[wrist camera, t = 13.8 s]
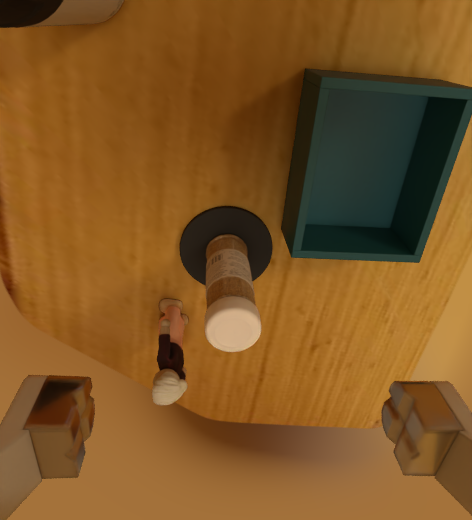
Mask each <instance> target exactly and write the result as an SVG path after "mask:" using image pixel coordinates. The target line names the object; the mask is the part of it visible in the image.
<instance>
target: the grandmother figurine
mask: <svg viewBox="0 0 472 520" xmlns="http://www.w3.org/2000/svg"><path fill="white" fill-rule="evenodd" d="M182 308H183V304H182V302H181V301H179V300H173V299H163V300H161V301H160V303H159V309H160V310H161V312H163V313H165V316H163V317H162V318H161V319H160V320H159V350H158V356H157V362H158V365H159V369H160V371H159V372H158V373H157V374H156V375H155V377H154V380H153V390H152V397H153V401H154V402H155V403H156V404H158V405H168V404H171V403H173V402H175V401H177V400H178V399H179V398H180V397H181V396H182V394H183V393H184V392H185V391H186V389H187V387H188V386H187V383H186V381H185V377H186V375H185V374H186V369H185V368H184V367H183V365H184V358H183V350H182V337H183V331H184V325H186V324H187V323H188V321H189V320H188V317H187V316H186V315H184V314H181V313H180V311H181V310H182Z"/></svg>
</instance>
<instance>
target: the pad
mask: <svg viewBox="0 0 472 520" xmlns="http://www.w3.org/2000/svg"><path fill="white" fill-rule="evenodd" d="M224 234H232V235H235V236H237V237H239V238H240V239H242V240H243V241H244V243H245V244H246V246H247V252H248V254H247V257H248V261H249V265H250V271H251V277H252V281H254V280H255V279H256V278H258V277H259V276H260V275H261V274H262V273H263V272H264V270H265V269H266V268H267V266H268V264H269V262H270V259H271V255H272V240H271V236H270V233H269V231H268V229H267V227H266V225H265V224H264V223H263V222H262V221H261V220H260V219H259V218H258V217H257V216H256V215H254V214H253V213H251V212H249V211H247V210H244V209H242V208H238V207H231V206H223V207H216V208H212V209H209V210H207V211H204V212H202V213H201V214H199V215H198V216H196V217H195V218H194V219H193V220H192V221H191V222H190V223H189V224H188V225H187V227H186V228H185V230H184V232H183V234H182V237H181V241H180V256H181V260H182V263H183V265H184V267H185V269H186V270H187V271H188V273H189V274H190V275H191V276H192V277H193V278H194V279H196V280H197V281H199V282H200V283H202V284H204V285H206V264H207V258H206V249H207V246H208V244H209V243H210V241H211V240H213V239H214V238H215V237H217V236H219V235H224Z"/></svg>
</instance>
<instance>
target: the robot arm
mask: <svg viewBox="0 0 472 520" xmlns="http://www.w3.org/2000/svg"><path fill="white" fill-rule="evenodd" d="M91 389H92V383H91V378H90V377H79V376H54V375H53V376H52V375H49V376H45V375H44V376H43V375H28V376H27V377H26V378H25V379H24V381H23V382H22V384H21V386H20V388H19V390H18V392H17V394H16V396H15V398H14V400H13V401H12V403H11V405H10V407H9V409H8V411H7V413H6V415H5V417H4V418H3V420H2V423H1V424H0V520H6V519H7V518H8V517H9V516H10V515H11V514H12V513H13V512H14V511H15V510H16V509H17V508H18V506H19V505H20V504H21V503H22V502H23V501H24V500H25V499H26V498H27V497H28V496H29V495H30V493H31V492H32V491H33V490H34V489H35V488H36V487H37V486H38V485H39V484H40V483H41V481H42V479H46V478H77V477H78V476H79V473H80V469H81V466H82V462H83V459H84V456H85V446H84V441H86V440H87V439H88V438H89V437H90V435H91V431H92V427H93V422H94V415H95V404H94V399H93V398H92V397H91V396H90V392H91ZM389 392H390V394H391V397H390V398H389V399H388V400H386V401H385V402H384V405H383V408H382V424H383V428H384V431H385V433H386V436H387V437H388V438H389V439H390V440H391V441H392V442H393V443H395V444H396V445H395V448H394V454H395V457H396V459H397V461H398V463H399V466H400V468H401V470H402V473H403V475H412V476H435V479H436V480H437V481H438V482H439V483H440V484H441V485H442V486H443V487H444V488H445V489H446V490H447V491H448V492H449V493H450V494H451V495H452V496H453V497H454V498H455V499H456V500H457V501H458V502H459V503H460V504H461V505H462V506H463V507H464V508H465V509H466V510H467V511H468V512H469V513H470V514H471V515H472V413H471V411H470V410H469V408H468V407H467V405H466V404H465V402H464V401H463V399H462V398H461V396H460V395H459V393H458V392H457V390H456V389H455V388H454V386H453V385H452V384H451V383H450V382H448V381H430V382H428V381H394V382H393V383H392V384H391V386H390V389H389Z"/></svg>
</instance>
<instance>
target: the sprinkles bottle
mask: <svg viewBox="0 0 472 520" xmlns="http://www.w3.org/2000/svg"><path fill="white" fill-rule="evenodd" d="M247 254H248V252H247V246H246V244H245V243H244V241H243V240H242V239H240V238H239V237H237V236H235V235H232V234H224V235H219V236H217V237H215V238H214V239H213V240H211V241H210V243H209V244H208V246H207V249H206V258H207V264H206V299H207V311H206V314H205V334H206V337H207V339H208V341H209V342H210V343H211V344H212V345H213V346H214V347H215V348H217V349H219V350H222V351H226V352H237V351H242V350H245V349H247V348H249V347H250V346H252V345H253V344H254V343H255V342H256V341H257V340H258V338H259V336H260V333H261V321H260V315H259V311H258V309H257V307H256V305H255V299H254V288H253V283H252V277H251V271H250V265H249V261H248V257H247Z"/></svg>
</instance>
